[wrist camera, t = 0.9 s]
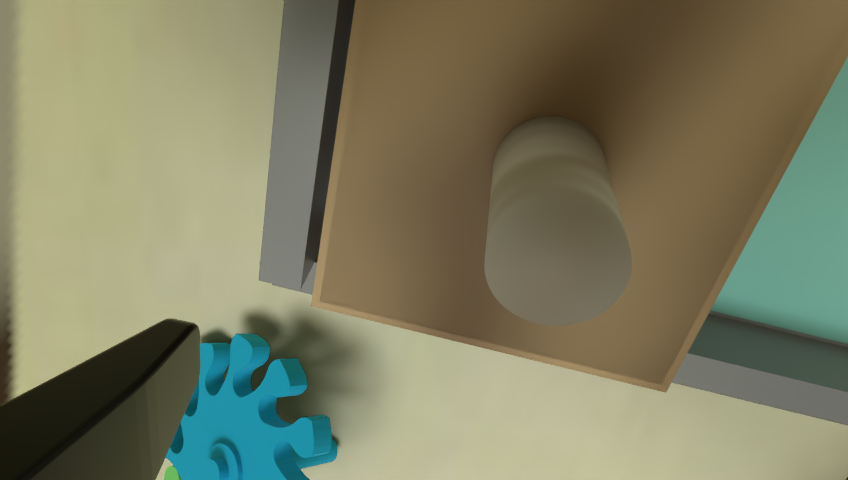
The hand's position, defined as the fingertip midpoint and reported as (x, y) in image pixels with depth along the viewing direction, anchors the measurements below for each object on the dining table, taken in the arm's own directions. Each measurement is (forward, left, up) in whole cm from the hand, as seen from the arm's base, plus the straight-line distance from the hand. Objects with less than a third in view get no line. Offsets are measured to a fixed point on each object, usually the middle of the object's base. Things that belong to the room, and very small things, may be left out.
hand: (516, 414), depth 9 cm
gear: (+7, +15, -13) cm, 22 cm away
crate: (0, -1, -12) cm, 12 cm away
